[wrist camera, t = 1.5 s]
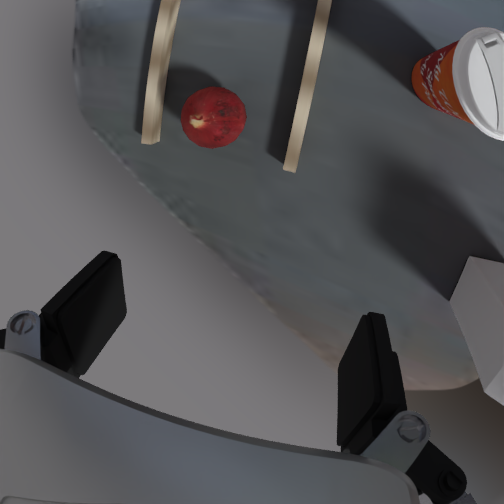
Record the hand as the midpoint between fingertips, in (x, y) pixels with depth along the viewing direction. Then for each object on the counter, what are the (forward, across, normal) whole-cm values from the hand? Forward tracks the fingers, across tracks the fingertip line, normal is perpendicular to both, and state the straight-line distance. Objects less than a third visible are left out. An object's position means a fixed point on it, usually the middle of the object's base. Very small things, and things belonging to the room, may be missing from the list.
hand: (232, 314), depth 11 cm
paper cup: (+23, -13, -13) cm, 29 cm away
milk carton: (+23, -28, +8) cm, 37 cm away
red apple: (+23, +7, -4) cm, 25 cm away
